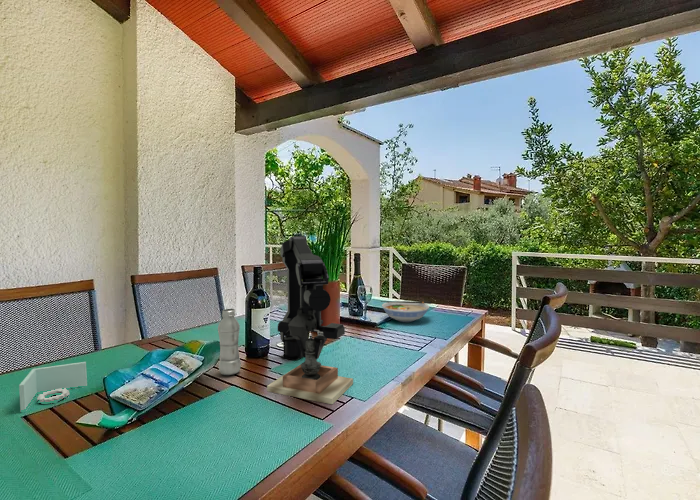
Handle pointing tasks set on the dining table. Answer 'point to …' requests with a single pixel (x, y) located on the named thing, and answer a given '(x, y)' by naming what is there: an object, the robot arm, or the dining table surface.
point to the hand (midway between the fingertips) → (310, 357)
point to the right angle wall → (52, 382)
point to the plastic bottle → (229, 343)
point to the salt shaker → (310, 361)
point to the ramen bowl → (405, 310)
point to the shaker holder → (312, 385)
